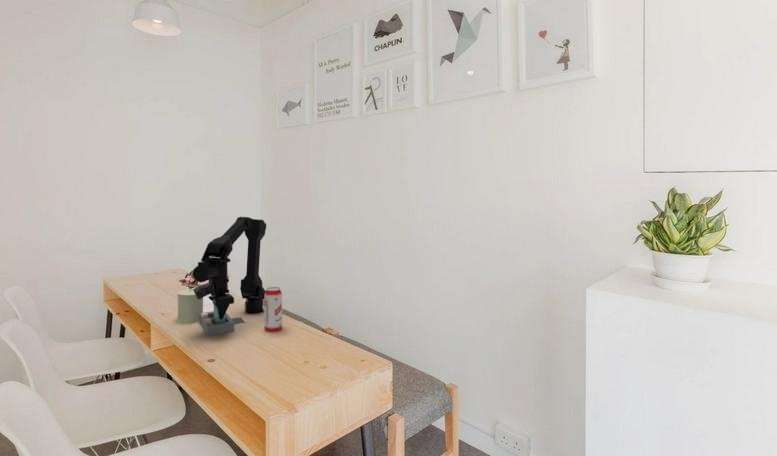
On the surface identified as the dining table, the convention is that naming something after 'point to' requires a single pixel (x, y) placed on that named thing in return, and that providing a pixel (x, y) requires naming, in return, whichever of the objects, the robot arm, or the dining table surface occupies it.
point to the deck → (238, 320)
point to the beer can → (273, 309)
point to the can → (189, 306)
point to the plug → (216, 316)
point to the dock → (214, 329)
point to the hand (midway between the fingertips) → (219, 317)
